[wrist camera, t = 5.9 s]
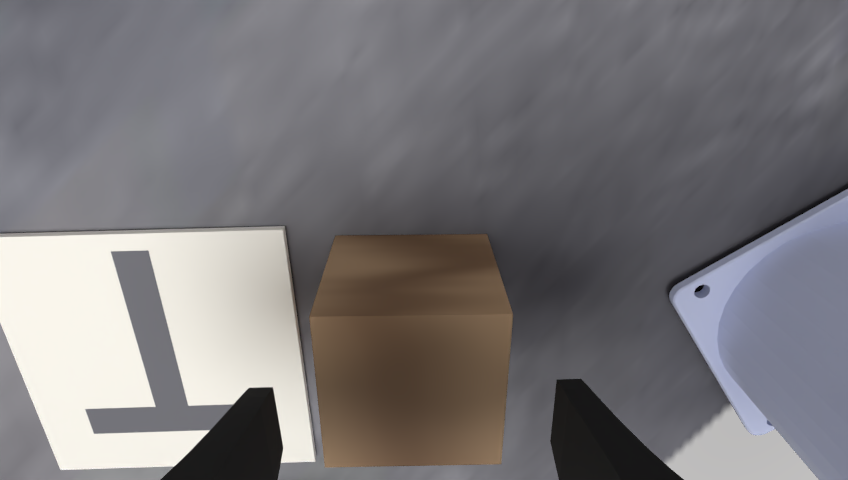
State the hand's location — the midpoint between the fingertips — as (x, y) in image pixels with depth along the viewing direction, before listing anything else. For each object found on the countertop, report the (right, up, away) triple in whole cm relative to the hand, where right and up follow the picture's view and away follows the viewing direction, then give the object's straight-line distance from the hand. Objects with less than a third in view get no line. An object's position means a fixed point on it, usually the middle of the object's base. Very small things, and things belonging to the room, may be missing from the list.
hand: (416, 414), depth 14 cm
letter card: (-9, 0, +6) cm, 11 cm away
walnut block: (0, +2, +5) cm, 6 cm away
